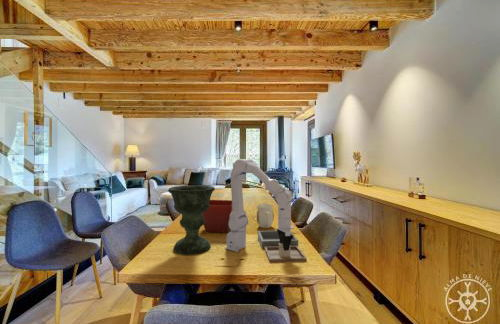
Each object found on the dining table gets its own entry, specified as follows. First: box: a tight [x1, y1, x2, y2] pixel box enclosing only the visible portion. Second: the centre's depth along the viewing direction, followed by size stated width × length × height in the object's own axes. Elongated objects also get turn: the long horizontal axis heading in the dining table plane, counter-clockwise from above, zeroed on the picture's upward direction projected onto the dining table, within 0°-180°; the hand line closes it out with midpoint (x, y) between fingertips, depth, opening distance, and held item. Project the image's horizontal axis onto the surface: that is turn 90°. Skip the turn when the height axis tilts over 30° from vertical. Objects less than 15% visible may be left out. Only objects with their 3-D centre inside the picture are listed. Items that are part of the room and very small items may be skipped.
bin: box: [257, 230, 299, 249], centre depth 143 cm, size 18×18×4 cm
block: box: [279, 243, 290, 257], centre depth 124 cm, size 4×4×4 cm
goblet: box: [167, 184, 216, 256], centre depth 134 cm, size 22×23×30 cm
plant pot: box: [202, 199, 233, 233], centre depth 168 cm, size 19×19×17 cm
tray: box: [264, 245, 308, 263], centre depth 124 cm, size 16×16×2 cm
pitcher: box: [256, 202, 275, 229], centre depth 174 cm, size 11×18×14 cm, turn 8°
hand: (284, 247), depth 124 cm, fingers open, 7 cm apart
